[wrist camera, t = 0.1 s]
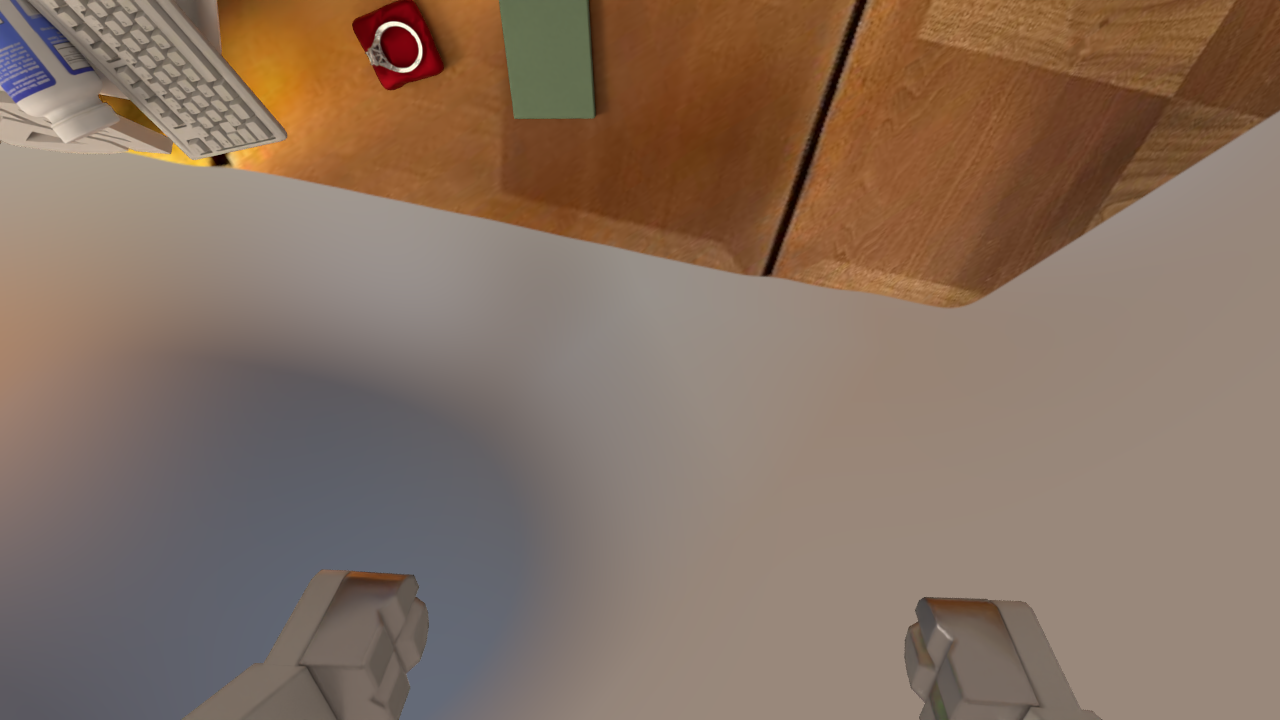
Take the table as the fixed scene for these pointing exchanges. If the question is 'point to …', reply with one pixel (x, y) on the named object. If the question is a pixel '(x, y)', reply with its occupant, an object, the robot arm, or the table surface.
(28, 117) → the emblem
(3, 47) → the pill bottle
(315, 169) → the table surface
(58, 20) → the keyboard
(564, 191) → the table surface
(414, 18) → the engagement ring
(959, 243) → the table surface
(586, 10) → the mat
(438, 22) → the table surface
